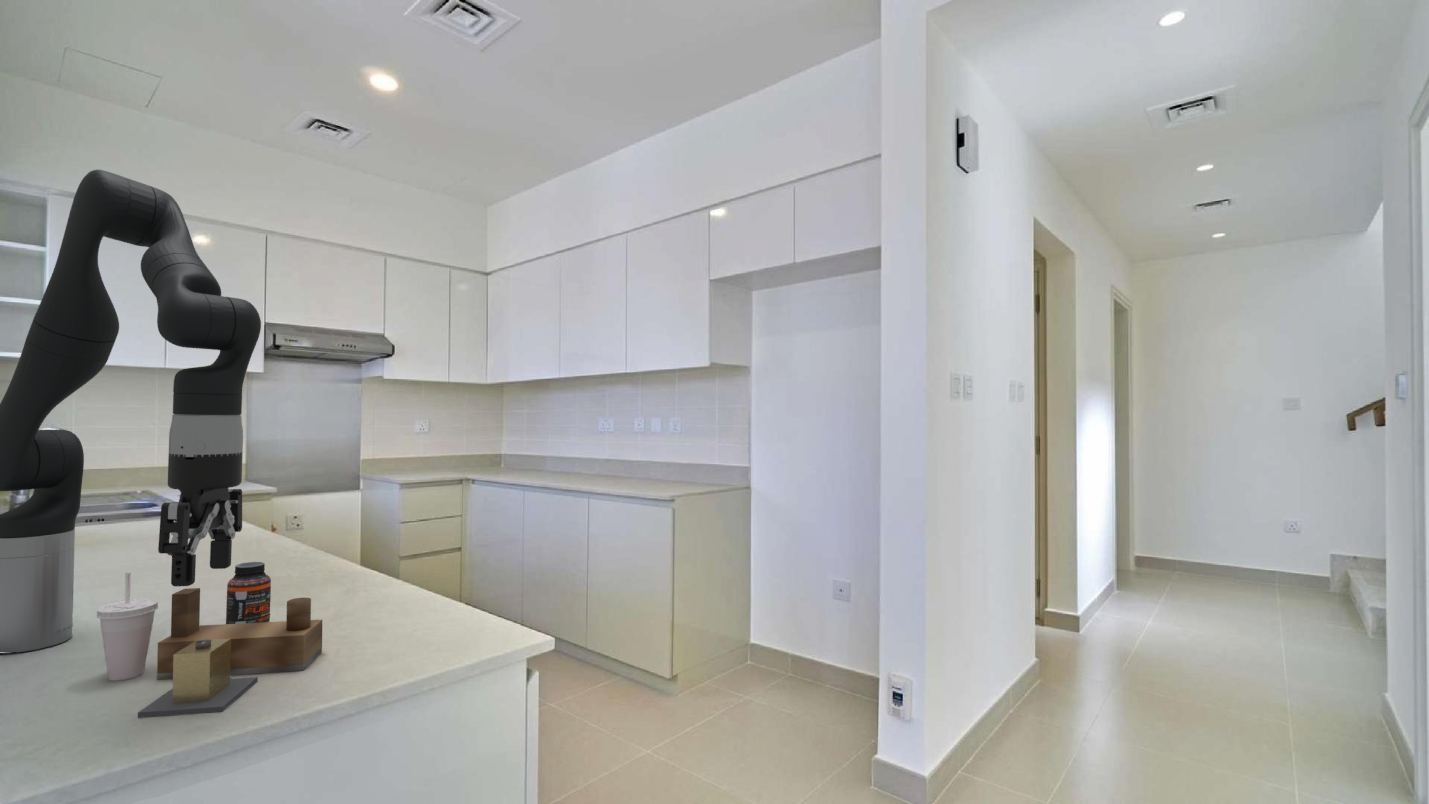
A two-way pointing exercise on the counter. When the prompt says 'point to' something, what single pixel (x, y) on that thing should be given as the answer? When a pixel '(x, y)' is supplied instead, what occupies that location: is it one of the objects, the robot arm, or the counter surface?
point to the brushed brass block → (201, 670)
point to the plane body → (245, 638)
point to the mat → (216, 704)
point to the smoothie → (126, 634)
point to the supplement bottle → (248, 594)
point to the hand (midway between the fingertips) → (202, 576)
